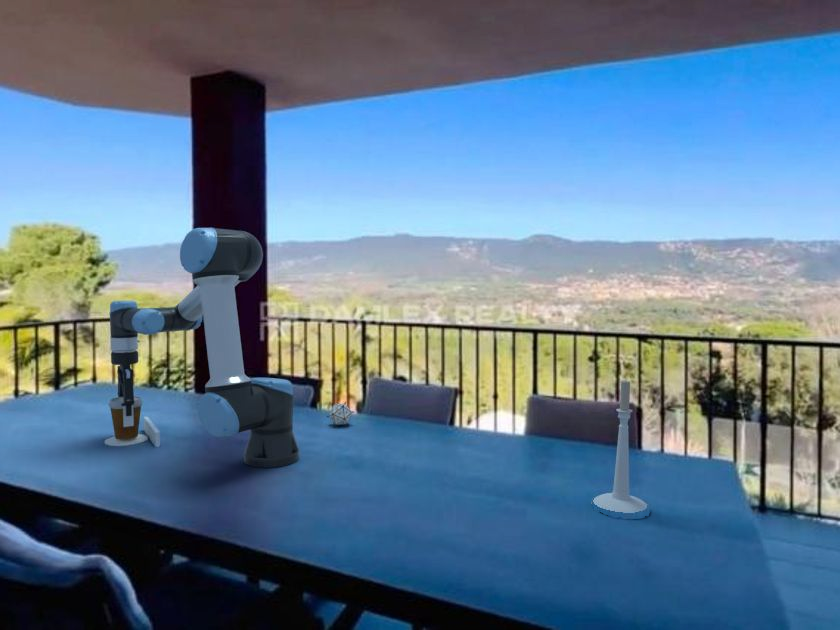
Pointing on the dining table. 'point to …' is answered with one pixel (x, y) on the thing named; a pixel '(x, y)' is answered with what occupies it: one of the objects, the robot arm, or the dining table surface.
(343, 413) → the game die
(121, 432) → the disposable coffee cup
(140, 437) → the coaster
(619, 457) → the candlestick
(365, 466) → the dining table surface
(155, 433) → the wall
